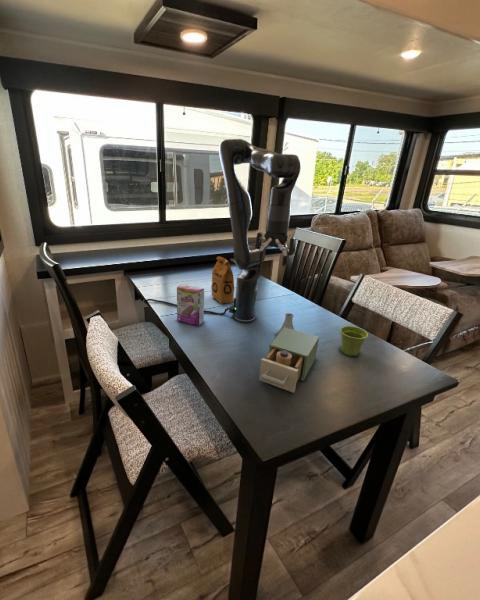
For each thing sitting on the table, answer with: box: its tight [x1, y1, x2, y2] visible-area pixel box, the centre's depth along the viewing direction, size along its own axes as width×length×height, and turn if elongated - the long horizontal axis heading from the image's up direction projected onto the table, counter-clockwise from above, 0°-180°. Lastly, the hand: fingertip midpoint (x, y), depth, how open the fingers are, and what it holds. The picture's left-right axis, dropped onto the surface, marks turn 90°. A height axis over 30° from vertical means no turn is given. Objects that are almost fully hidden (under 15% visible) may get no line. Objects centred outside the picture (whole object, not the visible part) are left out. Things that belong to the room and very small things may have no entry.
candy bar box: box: [176, 283, 205, 327], centre depth 135 cm, size 11×5×16 cm, turn 65°
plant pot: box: [339, 325, 369, 357], centre depth 116 cm, size 9×9×9 cm
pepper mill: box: [276, 350, 292, 367], centre depth 98 cm, size 5×5×9 cm
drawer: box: [258, 348, 305, 394], centre depth 99 cm, size 18×11×8 cm, turn 148°
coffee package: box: [210, 256, 235, 305], centre depth 158 cm, size 10×12×22 cm
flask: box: [276, 312, 295, 336], centre depth 126 cm, size 7×7×10 cm
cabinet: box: [268, 327, 320, 382], centre depth 108 cm, size 15×13×10 cm
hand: (272, 263), depth 114 cm, fingers open, 8 cm apart
